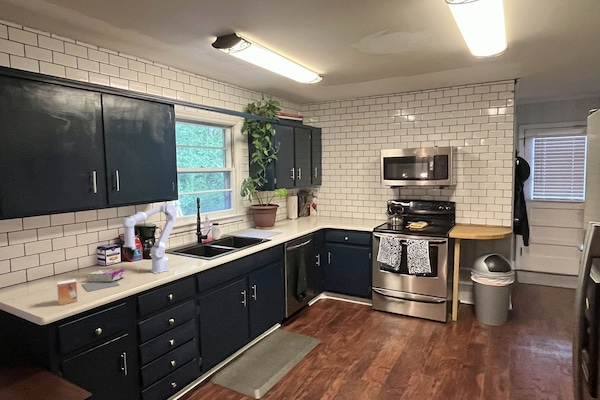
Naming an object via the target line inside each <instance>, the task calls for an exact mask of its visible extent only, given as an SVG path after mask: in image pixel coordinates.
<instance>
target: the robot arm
mask: <svg viewBox="0 0 600 400" xmlns="http://www.w3.org/2000/svg"><path fill="white" fill-rule="evenodd" d="M177 210H178V209H177V208H176V206H175V205H174V203H168V202H163V203H161V204H159V205H157V206H154V207H152V208H150V209H149V210H146V211H137V212H136V213H135V214H133V215H129V217H124V218H123V219H122V223H121V224H122V226H123V237H124V245H122V247H123V248H124V251H125V252H126V255H127V258H128V260H129V261H131V260H134V255H135V252H136V250H137V248H136V235H135V226H136V225H137V224H139V223H142V222H144V221H146V219H147V218H148V217H150V216H154V215H155V214H157V213H163V214H164V215H165V217H166V220H165V223H164V225H163V228H162V230H161V232H160V234H159V236H158V239H157V241H156V242H155V243H154V245H153V246H152V247H150V251H149V253H150V255H151V268H152V269H150V272H151V273H152V274H158V273H159V274H160V273H163V272H168V271H170V269H169V259H168V256H166V254H165V253H166V243H167V241H168V240H169V237H170V235H171V232H172V230H173V228H174V226H175V224H176V221H177V219H178V217H177Z"/></svg>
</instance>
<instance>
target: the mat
mask: <svg viewBox="0 0 600 400" xmlns="http://www.w3.org/2000/svg"><path fill="white" fill-rule="evenodd" d="M81 285H82V287H83V288H84V289H85V292H87V293H88V292H93V291H98V290H103V289H104V290H105V289H108V288H113V287H114V288H115V287H119V286H120V284H119V282H117V280H115V281H112V282H85V283H82V284H81Z"/></svg>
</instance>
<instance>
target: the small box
mask: <svg viewBox="0 0 600 400" xmlns="http://www.w3.org/2000/svg"><path fill="white" fill-rule="evenodd" d="M56 289H57V302H58V305H59V306H62V305H66V304H67V305H68V304H74V303H78V287H77V280H76V278H73V279H68V280H67V279H66V280H62V281H57V282H56Z"/></svg>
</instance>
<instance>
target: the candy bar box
mask: <svg viewBox="0 0 600 400" xmlns="http://www.w3.org/2000/svg"><path fill="white" fill-rule="evenodd" d="M125 277H126V273H125V268H122V269H121V268H115V269H113V268H110V269H109V268H108V269H107V268H104V269H98V270H95V271H91V272H90V273H87V279H88V283H91V282H112V281H118V280H120V279H123V278H125Z"/></svg>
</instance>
